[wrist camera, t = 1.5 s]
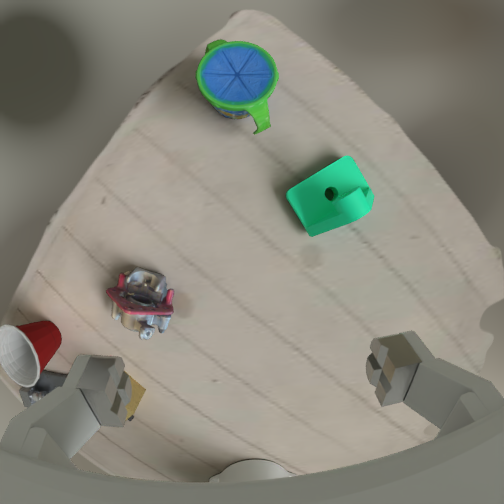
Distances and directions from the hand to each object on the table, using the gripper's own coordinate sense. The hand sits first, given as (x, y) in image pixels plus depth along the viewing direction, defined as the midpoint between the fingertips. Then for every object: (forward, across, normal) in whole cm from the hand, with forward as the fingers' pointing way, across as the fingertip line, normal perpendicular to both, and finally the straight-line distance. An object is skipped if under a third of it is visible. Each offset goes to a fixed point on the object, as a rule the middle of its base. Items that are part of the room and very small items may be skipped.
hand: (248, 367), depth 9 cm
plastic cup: (+34, -36, -25) cm, 56 cm away
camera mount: (+39, +15, -4) cm, 42 cm away
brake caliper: (+36, -14, -18) cm, 43 cm away
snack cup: (+44, +2, +11) cm, 46 cm away
